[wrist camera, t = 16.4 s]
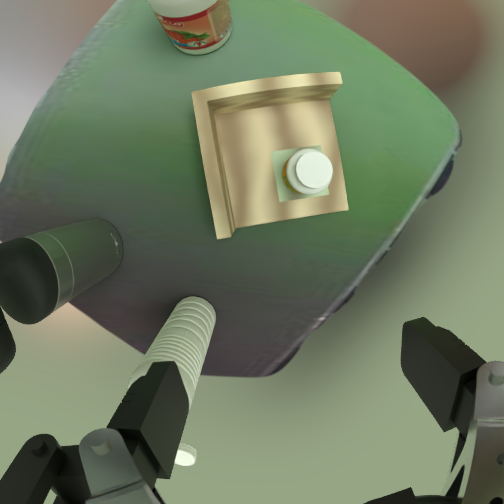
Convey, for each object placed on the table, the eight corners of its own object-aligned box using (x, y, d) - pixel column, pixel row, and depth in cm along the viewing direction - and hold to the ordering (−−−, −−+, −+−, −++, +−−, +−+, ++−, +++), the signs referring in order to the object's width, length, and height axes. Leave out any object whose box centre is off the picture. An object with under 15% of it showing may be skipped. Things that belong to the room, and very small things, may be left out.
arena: (224, 229, 42) (217, 239, 34) (203, 108, 38) (191, 92, 30) (347, 209, 41) (366, 214, 33) (325, 91, 37) (339, 71, 30)
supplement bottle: (273, 179, 40) (279, 177, 30) (294, 147, 39) (306, 134, 29) (307, 201, 40) (322, 205, 31) (327, 168, 39) (348, 163, 30)
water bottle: (166, 312, 45) (96, 420, 20) (194, 287, 44) (134, 391, 19) (206, 350, 46) (170, 474, 22) (235, 327, 45) (217, 453, 21)
